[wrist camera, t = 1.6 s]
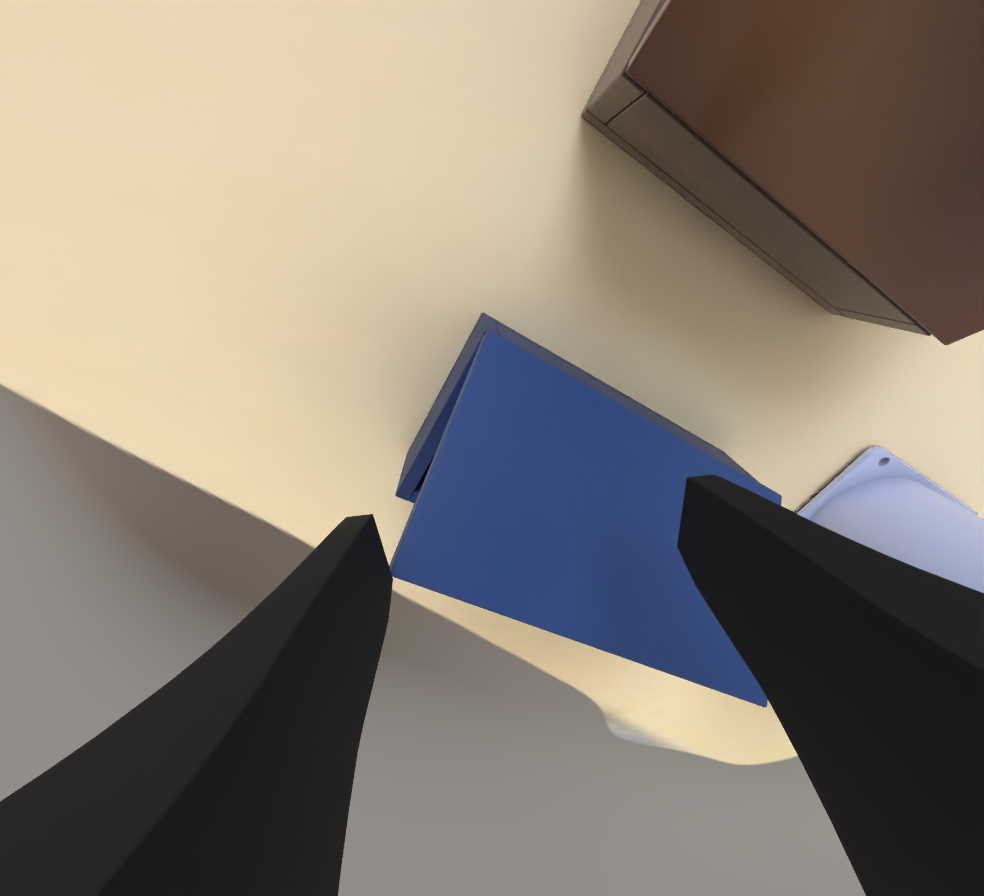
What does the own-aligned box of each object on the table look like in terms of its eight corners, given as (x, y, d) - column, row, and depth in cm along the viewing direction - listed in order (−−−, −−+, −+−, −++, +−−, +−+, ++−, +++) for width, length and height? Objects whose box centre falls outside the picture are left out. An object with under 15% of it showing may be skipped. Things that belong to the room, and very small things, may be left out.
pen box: (798, -299, 10) (991, -609, 6) (1059, 62, 14) (1279, -2, 10) (580, 116, 14) (620, 73, 10) (831, 314, 18) (930, 336, 14)
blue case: (630, 553, 24) (655, 602, 21) (406, 454, 20) (394, 496, 17) (724, 451, 21) (769, 491, 18) (482, 311, 17) (485, 330, 14)
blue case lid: (751, 702, 15) (768, 708, 14) (385, 574, 11) (389, 575, 10) (768, 497, 18) (782, 495, 17) (482, 336, 14) (489, 328, 13)
